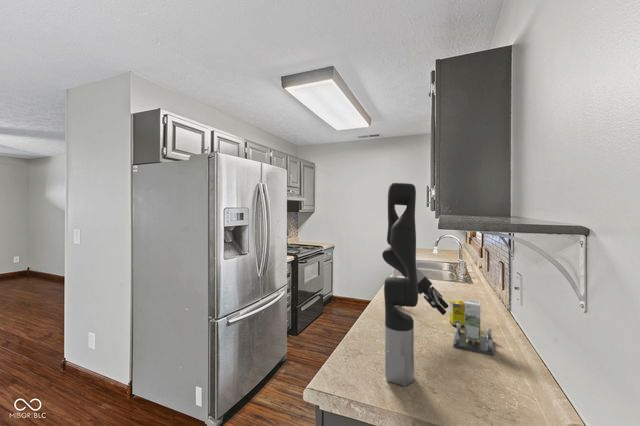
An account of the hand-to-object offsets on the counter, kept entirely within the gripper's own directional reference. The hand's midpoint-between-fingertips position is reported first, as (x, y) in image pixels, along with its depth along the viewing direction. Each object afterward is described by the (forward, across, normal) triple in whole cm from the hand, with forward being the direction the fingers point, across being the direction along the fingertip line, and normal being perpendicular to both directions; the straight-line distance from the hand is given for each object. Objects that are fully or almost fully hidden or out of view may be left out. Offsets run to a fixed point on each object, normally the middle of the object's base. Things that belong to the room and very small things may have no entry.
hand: (446, 310), depth 122 cm
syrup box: (+14, 0, -1) cm, 14 cm away
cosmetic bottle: (-13, +32, +31) cm, 46 cm away
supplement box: (+11, +19, +7) cm, 23 cm away
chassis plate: (+16, 0, +1) cm, 16 cm away
